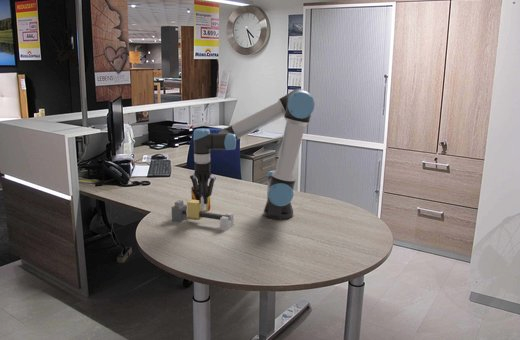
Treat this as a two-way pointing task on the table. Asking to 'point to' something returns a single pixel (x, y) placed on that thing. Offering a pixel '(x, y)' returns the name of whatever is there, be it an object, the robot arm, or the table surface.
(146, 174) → the table surface
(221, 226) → the gray notched block
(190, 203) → the sleeve
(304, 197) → the table surface
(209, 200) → the mug
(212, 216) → the dark grey rod
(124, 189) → the table surface
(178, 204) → the block
